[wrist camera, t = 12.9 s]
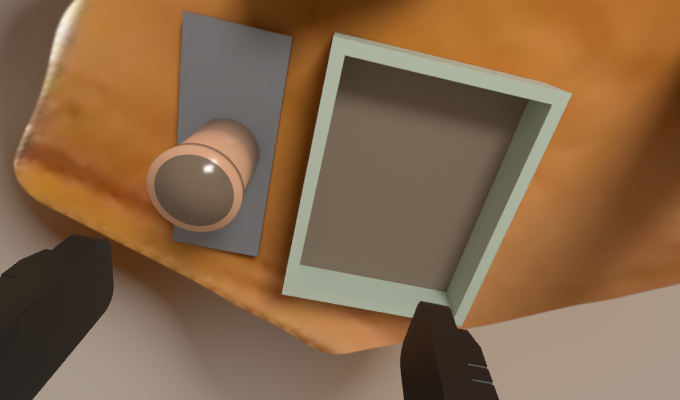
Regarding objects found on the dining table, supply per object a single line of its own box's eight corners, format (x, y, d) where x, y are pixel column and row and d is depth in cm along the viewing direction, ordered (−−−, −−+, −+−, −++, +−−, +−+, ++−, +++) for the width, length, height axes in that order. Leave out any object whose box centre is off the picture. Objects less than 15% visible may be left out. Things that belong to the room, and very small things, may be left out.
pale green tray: (543, 82, 32) (572, 93, 28) (449, 295, 41) (461, 326, 37) (334, 31, 30) (333, 36, 26) (287, 264, 40) (281, 294, 36)
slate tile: (293, 36, 30) (292, 37, 30) (259, 250, 39) (257, 256, 38) (187, 10, 30) (183, 11, 29) (176, 235, 38) (172, 240, 38)
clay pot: (268, 124, 32) (246, 158, 25) (258, 191, 35) (236, 239, 28) (191, 107, 32) (146, 137, 25) (187, 177, 35) (145, 222, 27)
